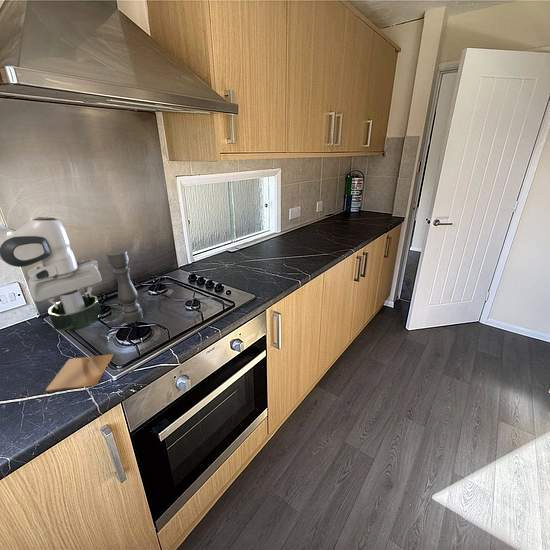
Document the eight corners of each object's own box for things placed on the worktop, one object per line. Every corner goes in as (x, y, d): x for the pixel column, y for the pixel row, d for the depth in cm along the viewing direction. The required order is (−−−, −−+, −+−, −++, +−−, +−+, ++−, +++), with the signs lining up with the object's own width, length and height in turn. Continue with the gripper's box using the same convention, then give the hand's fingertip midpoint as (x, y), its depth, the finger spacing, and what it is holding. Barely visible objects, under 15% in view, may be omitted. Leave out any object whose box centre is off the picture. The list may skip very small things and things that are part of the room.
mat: (45, 391, 73) (45, 390, 73) (69, 360, 84) (69, 358, 84) (96, 385, 74) (96, 383, 74) (113, 355, 85) (113, 353, 85)
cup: (65, 324, 102) (54, 296, 97) (73, 315, 107) (64, 288, 103) (84, 322, 102) (74, 294, 98) (91, 313, 108) (83, 287, 104)
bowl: (45, 332, 97) (38, 317, 95) (67, 311, 111) (62, 296, 108) (91, 328, 99) (86, 312, 97) (108, 307, 112) (104, 293, 110)
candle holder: (120, 323, 101) (101, 255, 91) (131, 314, 107) (114, 249, 97) (136, 324, 100) (119, 255, 90) (146, 315, 106) (131, 249, 96)
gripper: (92, 255, 105) (102, 289, 111) (21, 273, 92) (37, 311, 97) (98, 258, 101) (108, 294, 107) (25, 277, 88) (41, 317, 93)
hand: (74, 302), depth 102 cm, fingers open, 8 cm apart
